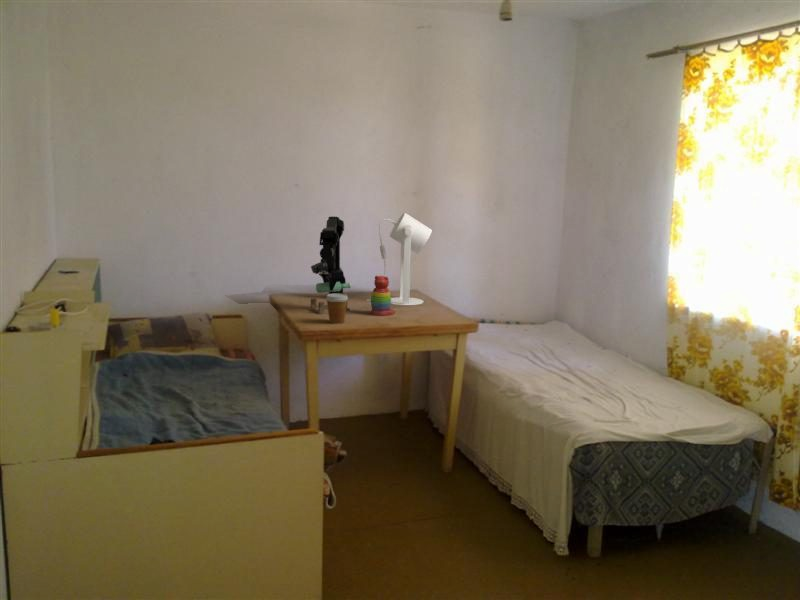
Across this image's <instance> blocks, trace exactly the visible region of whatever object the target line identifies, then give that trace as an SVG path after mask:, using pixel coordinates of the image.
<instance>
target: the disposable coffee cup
mask: <svg viewBox="0 0 800 600" xmlns="http://www.w3.org/2000/svg"><path fill="white" fill-rule="evenodd" d="M325 299H326V302H327V304H326V305H328V312H329V313H328V319H329V320H328V321H329V323H330V324H333V323H336V324H337V323H338V324H337V325H339V323H340V324H344V323H345V319H346V318H345V316H346V312H347V311H346V304H347V305H348V300H349V297H348V295H347V293H343V294H341V293H333V294H329V293H328V294H327V295H326V297H325ZM336 324H335V325H336Z"/></svg>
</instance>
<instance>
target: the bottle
mask: <svg viewBox="0 0 800 600" xmlns="http://www.w3.org/2000/svg"><path fill="white" fill-rule="evenodd" d="M341 288H343V289H351V288H352V283H351V282H348V283H345V284H341V283H340V282H336V284H335V286H334V288H333V290H332V291H330V286H329V282H328V283H324V282H317V283H316V285H315V291H316V293H318V294H321V293H322V294H323V293H329V292H335V291H341Z"/></svg>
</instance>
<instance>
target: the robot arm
mask: <svg viewBox="0 0 800 600" xmlns="http://www.w3.org/2000/svg"><path fill="white" fill-rule="evenodd" d="M325 226H326V227H324V228H323V229H322V230H321V232H320V235H319V246H322V248H321V249H320V251H319V256H320V258H321V259H320V261H319V262H318V263H315V264H313V265H311V266H310V269H311V271H312V273H313V274H315V275H317V274H318V276H320V277H321V278H322V281H323V282H322V283H328V282H329V286H330V291H332V290H333V288H334V286H335V284H336V282H340V283H341V284H345V283H346V282H347V281H346V277H345V275H344V271H343V269H342V267H341V241H340V240H341V237H342V236H343V234H344V231H345V223H344V220H342V219H340V217H339V216H328V219H327V220H326V225H325ZM333 293H341V294H344V288H341V291H335V292H328V294H333Z"/></svg>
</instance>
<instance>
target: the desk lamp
mask: <svg viewBox="0 0 800 600" xmlns="http://www.w3.org/2000/svg"><path fill="white" fill-rule="evenodd" d="M384 221H390V222H391V224H393V225H394V226H393V228H392V230H391V232H390V234H389V238H392V240H394V241H396V242H398V243H399V244H400V271H399V273H400V276H399V288H400V289H399V296H396V297H391V305H393V306H394V305H395V306H418V305H422V304H424V300H423V299H420V298H416V297H410V293H411V291H410V288H411V260H412V259H411V256H412V255H411V254H412V253H411V251H412V252H414V253H416V254H419V253H420V252H421V250H422V249H423V248H424V247H425V245H426V244H427V241H428V240H429V238H430V237H431V234H432V232H433V230H432V228H430V227H428V226H427V225H426V224H424V223H422V222H421V221H419V220H417V219H416V218H414V217H412V216H411V215H409V214H408V213H406V212H403V213H402V214H401V215H400V217H399V218H398V220H397V221H396V220H394V221H393V220H392V219H390V218H384V219H381V221H380V223H379V225H378V233H379V234H378V235H379V240H380V245H379V251H380V256H381V259H383V263H384V264H383V265H384V266H383V267H384V275H383V276H384V277H387V275H386V274H387V269H386V267H387V265H386V259H387V252H386V247H385V245H383V242H382V236H381V235H382V233H381V225H382V223H383V222H384ZM366 301H367V302H371V299H366Z"/></svg>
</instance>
